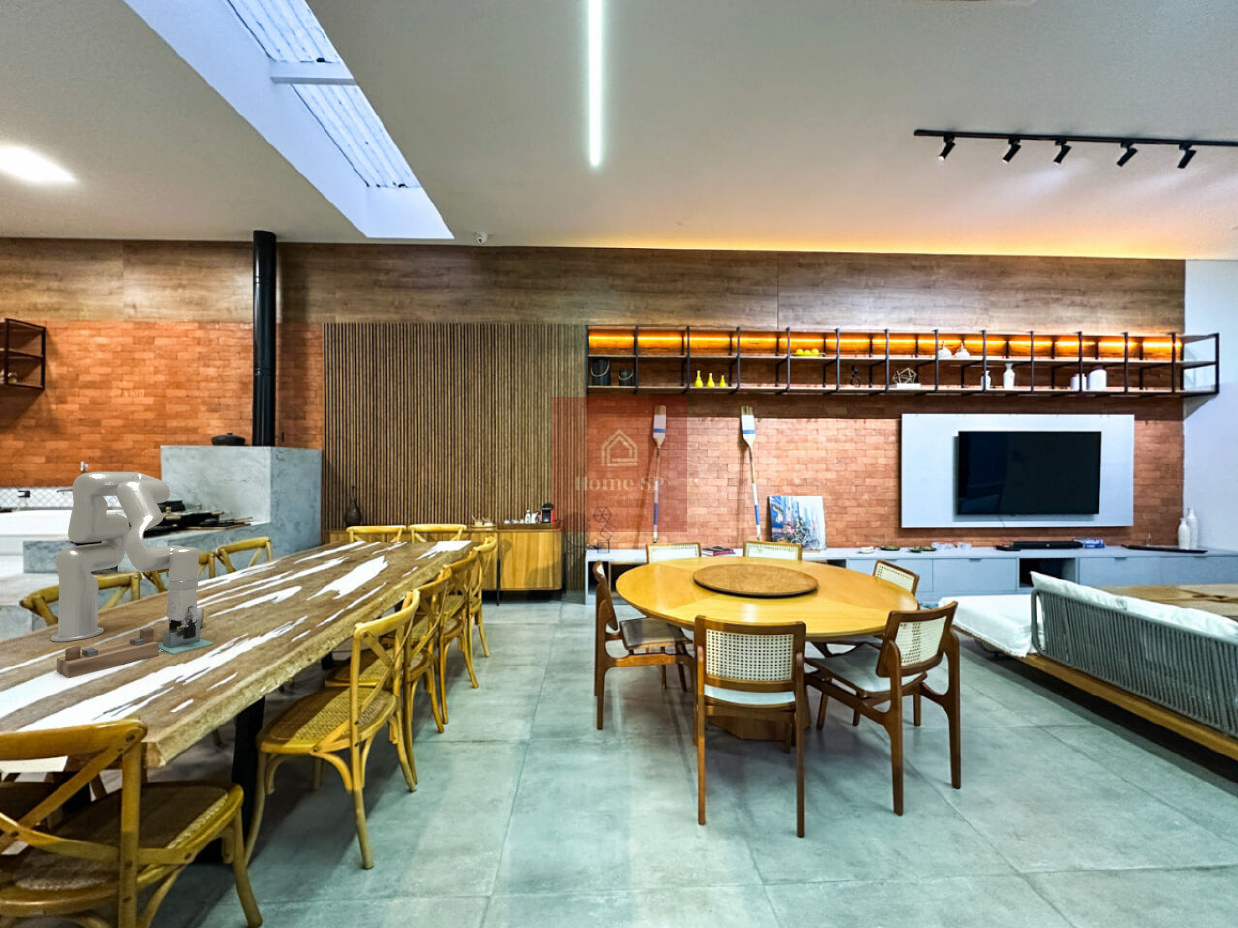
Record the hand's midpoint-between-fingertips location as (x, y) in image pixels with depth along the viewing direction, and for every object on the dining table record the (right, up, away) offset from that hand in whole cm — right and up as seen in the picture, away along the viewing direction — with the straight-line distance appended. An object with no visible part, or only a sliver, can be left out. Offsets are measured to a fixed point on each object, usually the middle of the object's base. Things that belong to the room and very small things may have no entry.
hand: (182, 635), depth 170 cm
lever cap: (0, -3, 0) cm, 3 cm away
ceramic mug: (-14, -4, +18) cm, 23 cm away
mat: (0, -3, 0) cm, 3 cm away
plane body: (-8, -3, -16) cm, 18 cm away
